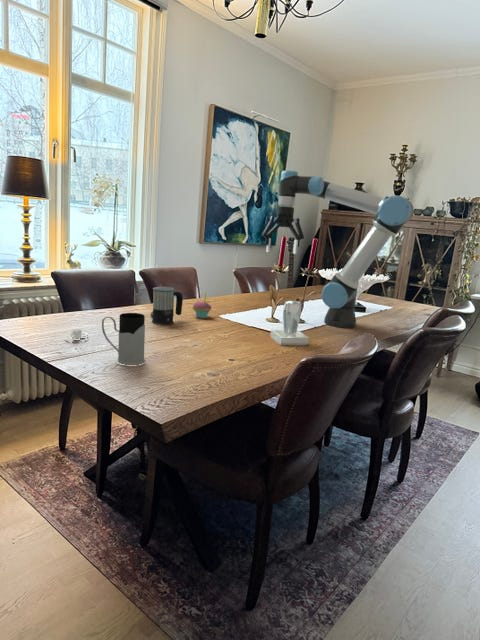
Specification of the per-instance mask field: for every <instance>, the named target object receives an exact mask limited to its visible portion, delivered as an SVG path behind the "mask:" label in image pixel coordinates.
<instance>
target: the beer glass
mask: <svg viewBox="0 0 480 640" xmlns="http://www.w3.org/2000/svg"><path fill="white" fill-rule="evenodd" d="M301 315H302V302H300V301H297V300H285V301H284V306H283V312H282V321H283V322H282V323H283V329H282V330H283V334H282V337H297V330H298V327H299V324H300V319H301Z"/></svg>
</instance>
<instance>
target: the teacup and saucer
mask: <svg viewBox="0 0 480 640" xmlns="http://www.w3.org/2000/svg"><path fill="white" fill-rule="evenodd" d="M71 330H72V331H71V333H70V337H71V339H72V340H73V339H74V338H75V339H79V338H81V337H86V336H88V337H89V334H88V333H87V332H83V331H82V329H81V328H74V329H71Z"/></svg>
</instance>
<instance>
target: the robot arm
mask: <svg viewBox="0 0 480 640" xmlns="http://www.w3.org/2000/svg"><path fill="white" fill-rule="evenodd" d="M298 173H299V172H298V171H295V170H283V171H281V175H280V179H279V192H278V193H279V194H278V200H277V201H278V202H277V203H278V204H277V205H278V206H277V210H276V212H277V214H276V216H273V215H271V216H270V217H269V220H268V222H267V224H266V226H265V228H264V229H263V232H261V236H262V237H264V238H265V239H264V245H265V246H266V250H265V251H266V253H270V250H271V242H272V238H270V237H271V236H272V235H274V233H275V232H276V231H277V230H278V229H279V228H289V230H290V232H291V233H292V234H293V237H294V238H295V239H294V241H293V247H292V254H294V255H297V253H298V248H299V247H300V243H301V240H303V239H304V238H305V237H304V233H303V230H302V227H301V224H300V223H301V222H300V218H298V217H296V218H294V213H295V208H294V207H295V204H296V195H298V194H301V195H309V196H315V197H317V198H321V199H323V200H328V201H330V202H334V203H337V204H340V205H344V206H347V207H350V208H354V209H357V210H361V211H363V212H367V213H370V214H373V215H374V217H373V218H372V224H373V225H372V227H371V228H370V229H369V231H368V232H367V233H366V235H365V237H364V238H363V239H362V241H361V242H360V244H359V245H358V247H357V248H356V249H355V251H354V252H353V254H352V255H351V256H350V258H349V259H348V261H347V262H346V264H345V265H344V267H343V268H342V269H341V271H339V272H335V274H334V275H333V276H332V278H331V279H330V281H328V283H327V284H325V285H324V287H323V288H322V289H321V290H322V291H321V300H322V302H323V303H324V304H325V306H327V307H328V309H327V311H326V314H325V316H324V319H323V323H325V324H326V325H328V326H331V327H335V328H336V327H337V328H343V329H345V328H346V329H350V328H356V326H357V320H356V319H357V318H356V313H355V307H356V300H357V293H358V288H359V282H360V280H361V278H362V277H363V276H364V274H365V273H366V272H367V270H368V268H369V267H370V266H371V265H372V263H373V261H374V260H375V259H376V258H377V256H378V255H379V253H380V252H381V251H382V249H384V247H385V245H386V243H387V242H388V241H389V239H390V238H391V237H393V236H396V235H398V233H399V232H400V231H401V229H402V228H403V227H404V225H407V223H409V222H410V221H411V219H412V217H413V216H414V212H415V211H414V206H413V203H412V202H411V201H410V200H409V199H407V198H406V197H404V196H401V195H392V196H384V197H382V196H378V195H374V194H372V193H368V192H364V191H360V190H357V189H354V188H349V187H347V186H343V185H341V184H336V183H332V182H328V181H326V180H324V178H323V177H322V176H316V175H314V176H309V175H307V176H304V175H303V176H302V175H299V174H298ZM275 221H276V223H275ZM274 223H275V224H274ZM293 223H294V224H295V227H294V225H293ZM273 224H274V226H273V227H272V225H273Z"/></svg>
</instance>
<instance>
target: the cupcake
mask: <svg viewBox="0 0 480 640" xmlns="http://www.w3.org/2000/svg"><path fill="white" fill-rule="evenodd" d="M206 298H207V292H206V293H205V294H204V297H203V301H197V302H195V303H194V304H193V305H192V310H194V312H195V316H196V318H200V319H206V318H207V317H208V316H209V315H208V314H209V313H210V311H211V310H212V306H211V305H210V304H209V302H206Z"/></svg>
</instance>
